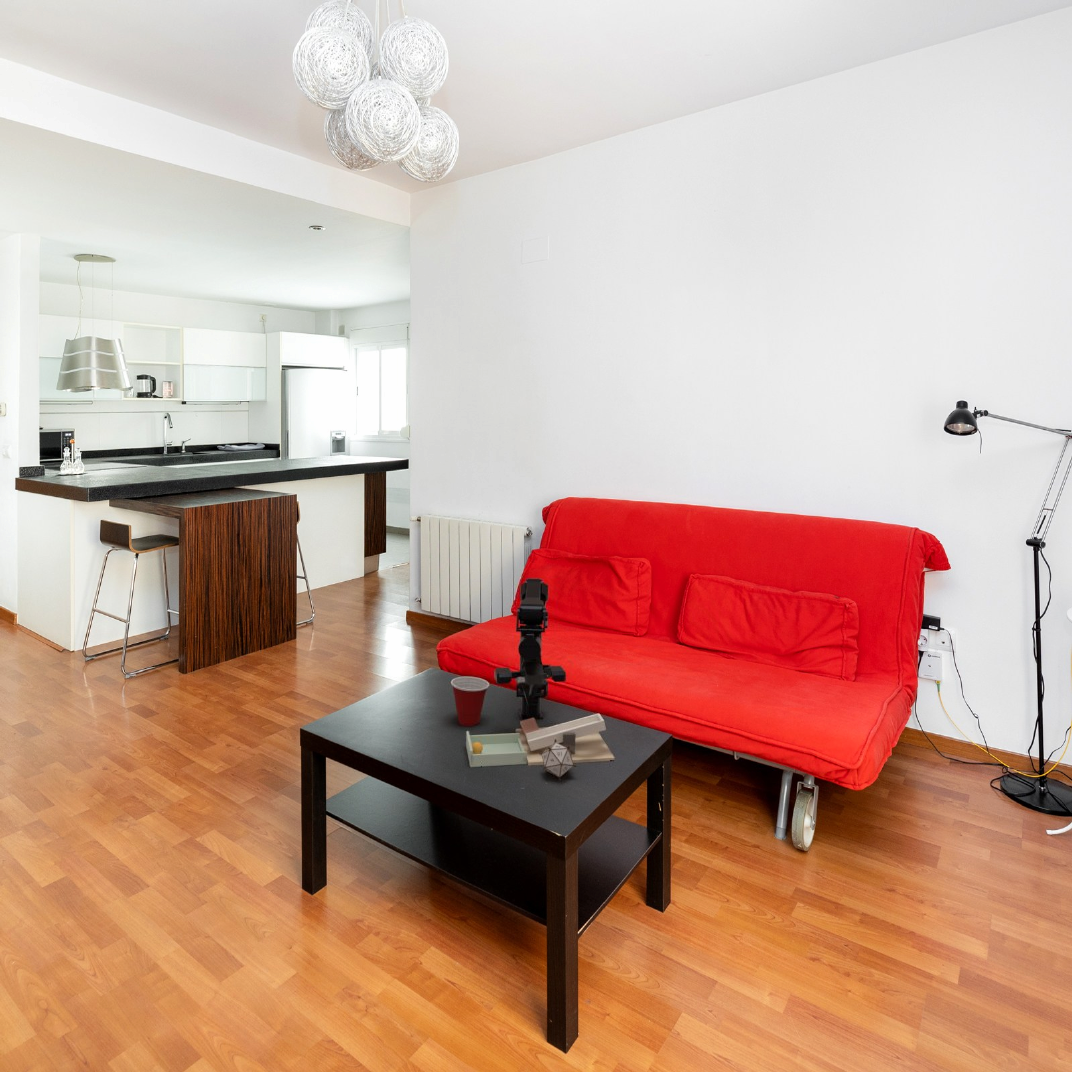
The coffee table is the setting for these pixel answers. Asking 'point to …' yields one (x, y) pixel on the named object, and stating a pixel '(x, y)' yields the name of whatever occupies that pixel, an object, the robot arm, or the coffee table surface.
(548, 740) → the lever
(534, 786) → the coffee table surface
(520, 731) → the lever stand
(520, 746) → the tray
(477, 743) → the ball
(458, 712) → the plastic cup
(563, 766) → the game die
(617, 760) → the coffee table surface
